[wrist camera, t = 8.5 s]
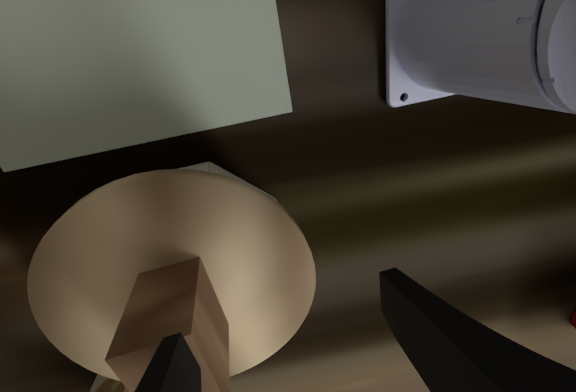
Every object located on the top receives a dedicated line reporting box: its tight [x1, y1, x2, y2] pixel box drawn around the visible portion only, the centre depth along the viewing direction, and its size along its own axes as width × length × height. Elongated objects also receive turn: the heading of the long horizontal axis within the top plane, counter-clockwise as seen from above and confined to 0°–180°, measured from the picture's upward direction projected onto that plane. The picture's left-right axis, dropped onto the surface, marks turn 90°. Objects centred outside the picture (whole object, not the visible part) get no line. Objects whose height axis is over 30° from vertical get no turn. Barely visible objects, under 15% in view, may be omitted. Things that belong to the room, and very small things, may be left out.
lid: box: [27, 169, 316, 392], centre depth 14 cm, size 14×14×6 cm
